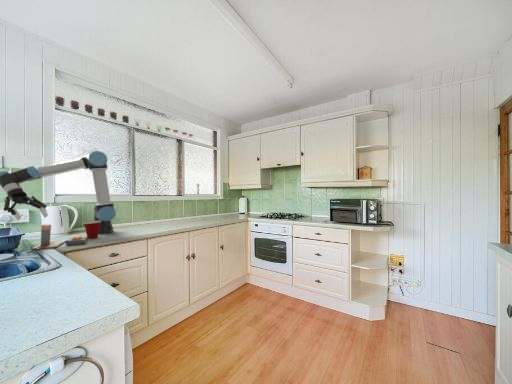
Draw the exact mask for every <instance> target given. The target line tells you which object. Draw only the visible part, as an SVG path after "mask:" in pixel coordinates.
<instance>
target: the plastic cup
mask: <svg viewBox="0 0 512 384" xmlns="http://www.w3.org/2000/svg"><path fill="white" fill-rule="evenodd" d="M82 224H83V225H84V229H85V234H86V237H88V240H89V239H90V240H91V239H92V238H93V239H97V238H98V236H99V234H100V233H99V228H100V224H101V221H94V220H91V221H86V222H82ZM98 233H99V234H98Z"/></svg>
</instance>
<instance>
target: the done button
mask: <svg viewBox="0 0 512 384" xmlns="http://www.w3.org/2000/svg"><path fill="white" fill-rule="evenodd" d="M82 237H83V236H82V235H81V236H77V235H76V236H72V238H73V240H77V239H82Z"/></svg>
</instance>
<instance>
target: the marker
mask: <svg viewBox="0 0 512 384" xmlns="http://www.w3.org/2000/svg"><path fill="white" fill-rule="evenodd" d="M40 226H41V228H40V231H41V233H40V244H41V246H49V245H50V241H51V233H52V232H51V231H52V224H42V225H40Z"/></svg>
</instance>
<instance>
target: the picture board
mask: <svg viewBox="0 0 512 384" xmlns="http://www.w3.org/2000/svg"><path fill="white" fill-rule="evenodd" d="M67 240H68V239H63V240H50V245H49V246H41V243H39V244H38V245H36V246H34V247H32V248H30V249H31V251H36V250H35V249H37V248H39V249H41V250H49V249H51V250H52V249H57V248H59V247H61V246H62V245H64V244H66V241H67Z"/></svg>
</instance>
